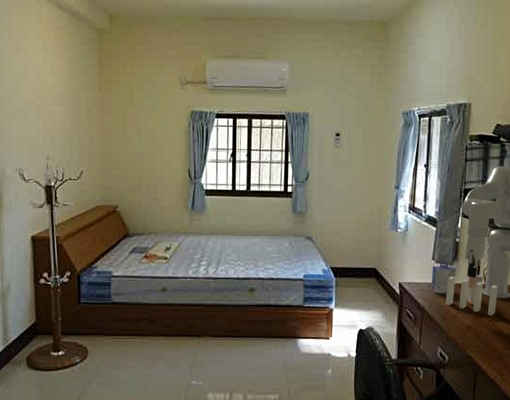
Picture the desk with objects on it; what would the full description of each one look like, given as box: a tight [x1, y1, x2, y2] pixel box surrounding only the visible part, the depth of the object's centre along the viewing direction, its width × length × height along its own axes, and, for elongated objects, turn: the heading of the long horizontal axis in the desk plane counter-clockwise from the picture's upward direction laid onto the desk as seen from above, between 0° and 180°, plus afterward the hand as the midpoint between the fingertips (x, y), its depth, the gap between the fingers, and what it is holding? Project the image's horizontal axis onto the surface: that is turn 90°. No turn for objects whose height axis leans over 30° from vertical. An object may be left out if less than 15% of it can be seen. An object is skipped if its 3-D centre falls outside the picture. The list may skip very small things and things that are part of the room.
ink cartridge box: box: [430, 261, 457, 294], centre depth 250 cm, size 10×6×14 cm, turn 89°
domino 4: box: [472, 282, 484, 313], centre depth 225 cm, size 4×2×12 cm, turn 140°
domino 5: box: [487, 285, 498, 316], centre depth 221 cm, size 4×2×12 cm, turn 140°
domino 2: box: [458, 278, 469, 309], centre depth 229 cm, size 4×2×12 cm, turn 140°
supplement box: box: [467, 274, 484, 305], centre depth 237 cm, size 8×5×13 cm, turn 168°
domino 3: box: [469, 259, 479, 288], centre depth 213 cm, size 4×2×12 cm, turn 140°
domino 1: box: [445, 276, 456, 306], centre depth 233 cm, size 4×2×12 cm, turn 140°
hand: (473, 275), depth 214 cm, fingers closed on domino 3, 4 cm apart
